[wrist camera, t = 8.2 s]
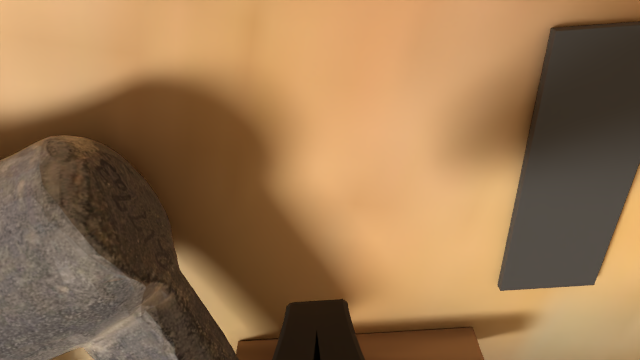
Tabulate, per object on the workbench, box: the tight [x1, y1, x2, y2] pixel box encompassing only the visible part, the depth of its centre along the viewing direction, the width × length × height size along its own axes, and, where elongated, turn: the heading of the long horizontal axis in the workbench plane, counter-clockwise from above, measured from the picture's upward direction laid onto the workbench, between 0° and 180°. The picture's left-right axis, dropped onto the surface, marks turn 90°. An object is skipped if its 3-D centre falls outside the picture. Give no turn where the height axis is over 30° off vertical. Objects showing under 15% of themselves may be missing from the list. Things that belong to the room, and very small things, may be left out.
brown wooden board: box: [236, 327, 484, 360], centre depth 14 cm, size 17×10×2 cm, turn 4°
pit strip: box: [498, 21, 640, 291], centre depth 15 cm, size 10×4×1 cm, turn 4°
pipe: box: [0, 135, 239, 360], centre depth 14 cm, size 6×13×8 cm
